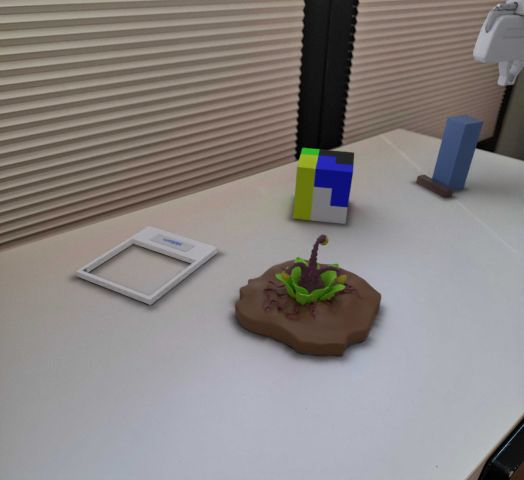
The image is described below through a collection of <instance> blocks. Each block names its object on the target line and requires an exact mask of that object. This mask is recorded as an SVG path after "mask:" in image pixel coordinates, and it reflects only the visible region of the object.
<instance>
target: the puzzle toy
mask: <svg viewBox="0 0 524 480" xmlns="http://www.w3.org/2000/svg"><path fill="white" fill-rule="evenodd" d="M297 162H298V163H297V165H296V177H295V188H294V189H295V190H294V200H293V201H294V202H293V215H292V219H293V220H303V221H311V222H312V221H313V222H314V221H315V222H320V223H321V222H322V223H331V224H332V223H334V224H342V225H346V222H347V215H348V209H349V202H350V196H351V188H352V182H353V175H354V164H355V152H353V151H344V150H343V151H342V150H331V149H320V148H307V147H302V149H301V152H300V155H299V158H298V161H297Z"/></svg>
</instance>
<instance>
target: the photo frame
mask: <svg viewBox="0 0 524 480" xmlns="http://www.w3.org/2000/svg"><path fill="white" fill-rule="evenodd" d="M132 245H135V246H138V247H142V248H145V249H147V250H150V251H153V252H157V253H160V254H162V255H164V256H165V255H166V256H167V257H171V258H174V259H177V260H180V261H182V262H185V263H189V265H188V266H187V267H186V268H184V269H183V270H182V271H180V272H179V273H178V274H176V275H175V276H174V277H173V278H170V280H169V281H167V282H166V283H165V284H164V285H162V286H161V287H159V288H158V289H157V290H155V291H154V292H153V293H151V294H150V295H147V294H144V293H142V292H139V291H136V290H135V289H131V288H129V287H127V286H123V285H121V284H118V283H116V282H114V281H110V280H108V279H106V278H103V277H100V276H97V275H95V274H93V273H89V272H91V271H93V270H95V268H97V267H99V266H100V265H102V264H103V263H105V262H107V261H108V260H110V259H111V258H113V257H114V256H116V255H118V254H119V253H121V252H123V251H125V250H126V249H127V248H129V247H130V246H132ZM218 251H219V249H218V247H217V246H214V245H211V244H208V243H205V242H202V241H198V240H195V239H192V238H189V237H186V236H183V235H180V234H177V233H174V232H170V231H167V230H164V229H161V228H158V227H154V226H151V225H148V226H146V227H145V228H143V229H141V230H140V231H138V232H137V233H135V234H134V235H132V236H130V237H128V238H127V239H125V240H124V241H122V242H120V243H119V244H117V245H115V246H114V247H113V248H111V249H109V250H108V251H106V252H104V253H102V254H101V255H99V256H98V257H96V258H95V259H93V260H91V261H90V262H88V263H87V264H85V265H83V266H81V267H80V268H79V269H77V270H75V275H76V277H77V278H80V279H83V280H85V281H87V282H90V283H93V284H96V285H99V286H101V287H103V288H105V289H109V290H110V291H114V292H116V293H118V294H122V295H123V296H125V297H126V296H127V297H129V298H131V299H134V300H137V301H139V302H142V303H144V304H147V305H149V306H151V305H153V304H154V303H155V302H157V301H158V300H159V299H161V298H162V297H163V296H164V295H166V294H167V293H168V292H169V291H171V290H172V289H173V288H174V287H176V286H177V285H178V284H179V283H181V282H182V281H184V279H186V278H187V277H188V276H190V275H191V274H192V273H194V272H195V271H196V270H197V269H199V268H200V267H201V266H203V265H204V264H205V263H206V262H207V261H209V260H210V259H211V258H213V257H214V256H215V255H217V253H218Z"/></svg>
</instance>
